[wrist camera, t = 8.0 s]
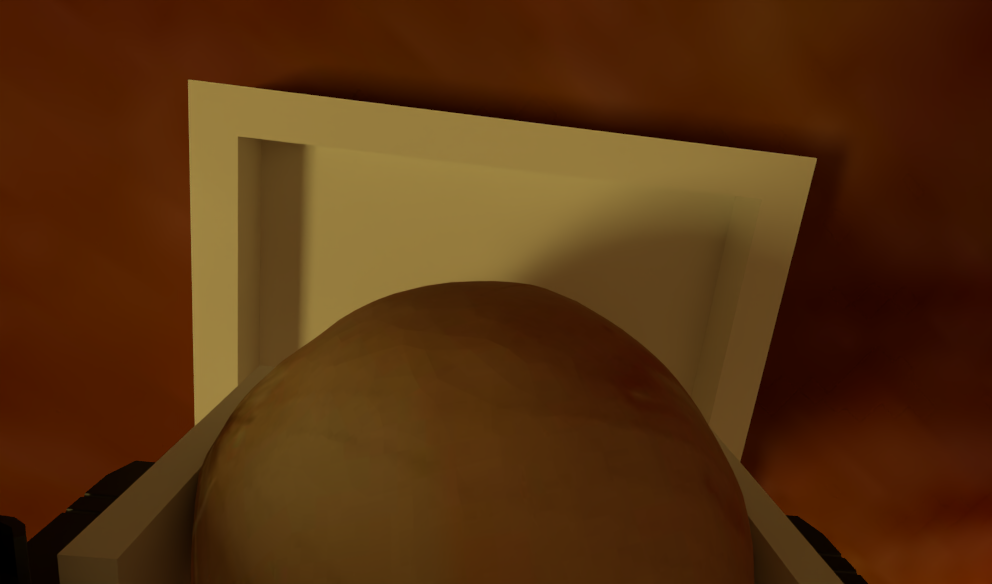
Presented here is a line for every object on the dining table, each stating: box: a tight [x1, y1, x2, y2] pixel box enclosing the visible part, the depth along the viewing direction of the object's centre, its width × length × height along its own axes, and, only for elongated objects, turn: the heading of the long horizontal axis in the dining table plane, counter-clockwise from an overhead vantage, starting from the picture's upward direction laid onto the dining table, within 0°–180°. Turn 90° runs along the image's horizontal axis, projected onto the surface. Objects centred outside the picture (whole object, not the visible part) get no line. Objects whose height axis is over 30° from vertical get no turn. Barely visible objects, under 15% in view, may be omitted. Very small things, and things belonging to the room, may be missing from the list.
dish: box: [188, 80, 817, 461], centre depth 16 cm, size 16×16×2 cm
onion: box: [191, 281, 754, 584], centre depth 10 cm, size 10×10×10 cm
